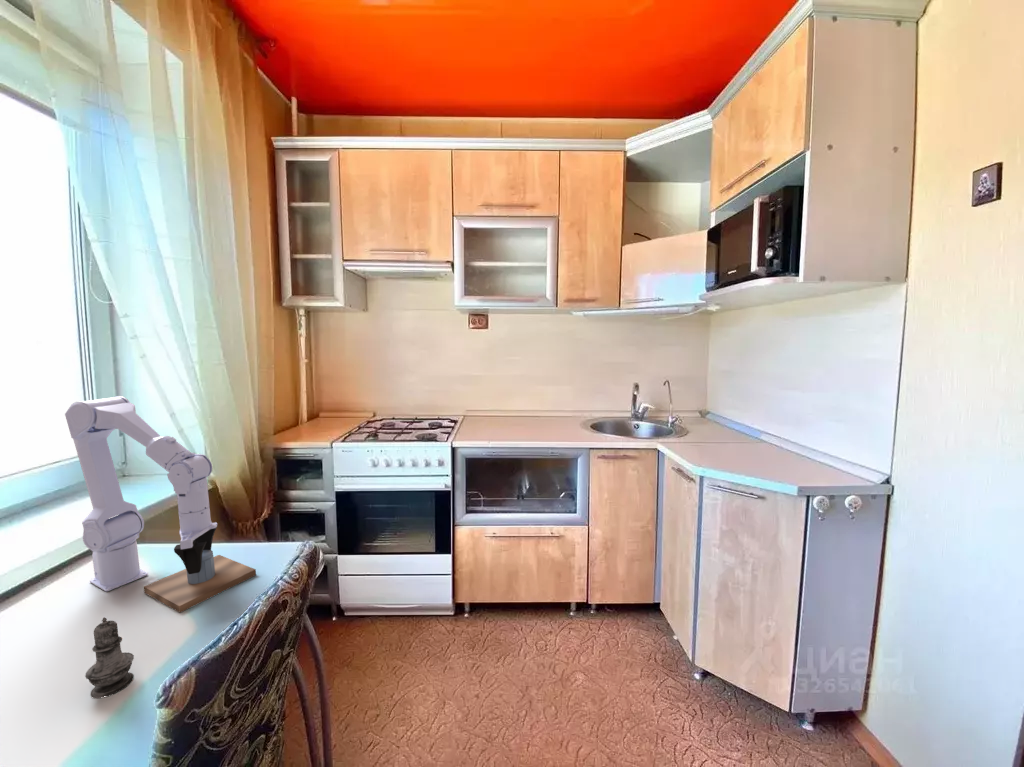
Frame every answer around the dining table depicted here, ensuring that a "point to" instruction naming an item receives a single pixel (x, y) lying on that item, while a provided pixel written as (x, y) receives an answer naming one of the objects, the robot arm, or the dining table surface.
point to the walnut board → (187, 595)
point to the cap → (203, 569)
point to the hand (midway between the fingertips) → (199, 564)
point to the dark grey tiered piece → (109, 662)
